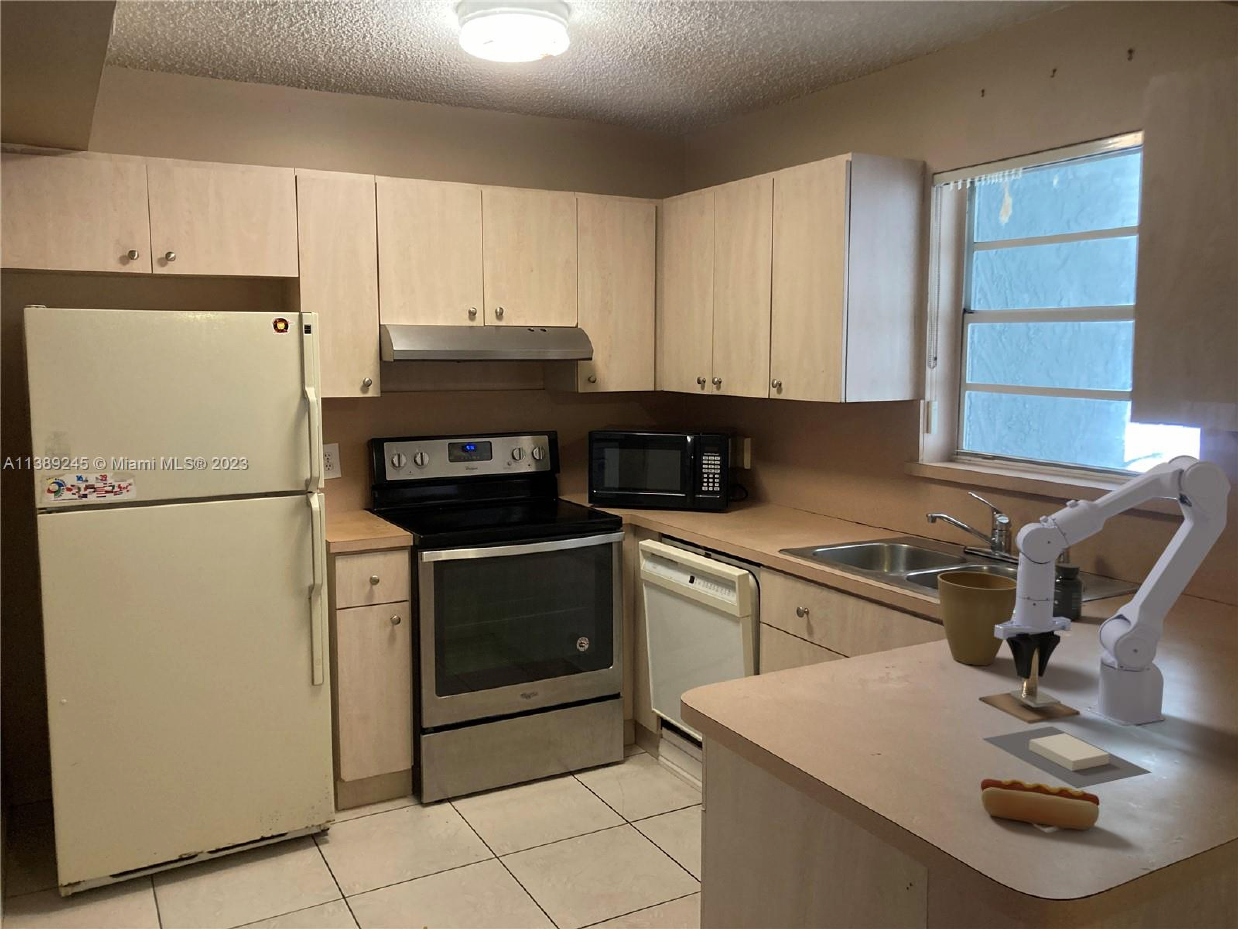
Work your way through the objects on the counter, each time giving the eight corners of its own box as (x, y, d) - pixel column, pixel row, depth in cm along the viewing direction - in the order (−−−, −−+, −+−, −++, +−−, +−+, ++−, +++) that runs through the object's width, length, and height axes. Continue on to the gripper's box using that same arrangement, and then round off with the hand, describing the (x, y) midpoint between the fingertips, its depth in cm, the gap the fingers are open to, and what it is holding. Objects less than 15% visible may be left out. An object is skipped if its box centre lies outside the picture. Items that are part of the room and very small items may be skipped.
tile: (1065, 733, 147) (1109, 753, 140) (1064, 743, 147) (1108, 764, 140) (1029, 740, 145) (1072, 761, 137) (1029, 750, 145) (1071, 771, 137)
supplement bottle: (1041, 614, 222) (1044, 563, 220) (1065, 612, 224) (1069, 561, 222) (1063, 622, 215) (1066, 569, 214) (1088, 620, 217) (1091, 567, 216)
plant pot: (989, 678, 178) (993, 592, 176) (918, 657, 189) (922, 577, 188) (1030, 662, 188) (1034, 581, 186) (960, 643, 199) (964, 567, 197)
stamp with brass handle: (1010, 694, 163) (1013, 645, 162) (1036, 692, 164) (1039, 642, 163) (1034, 707, 157) (1037, 656, 156) (1060, 704, 159) (1063, 653, 158)
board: (1028, 694, 170) (1028, 689, 170) (1079, 716, 160) (1079, 711, 160) (978, 702, 166) (979, 697, 166) (1027, 725, 156) (1027, 720, 155)
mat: (1051, 728, 154) (1051, 726, 154) (1151, 774, 138) (1151, 772, 138) (982, 741, 149) (982, 738, 149) (1076, 790, 132) (1076, 787, 132)
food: (1094, 820, 124) (1096, 783, 124) (1100, 840, 119) (1102, 802, 119) (978, 803, 129) (980, 767, 128) (979, 821, 124) (981, 784, 123)
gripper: (1049, 587, 167) (1044, 663, 168) (982, 594, 161) (978, 673, 163) (1082, 597, 160) (1077, 676, 162) (1014, 605, 155) (1009, 687, 157)
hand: (1030, 676), depth 162 cm, fingers closed on stamp with brass handle, 2 cm apart
